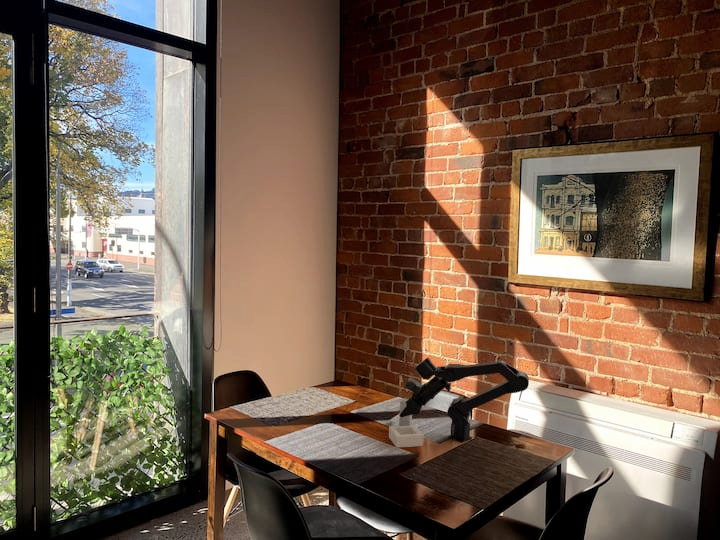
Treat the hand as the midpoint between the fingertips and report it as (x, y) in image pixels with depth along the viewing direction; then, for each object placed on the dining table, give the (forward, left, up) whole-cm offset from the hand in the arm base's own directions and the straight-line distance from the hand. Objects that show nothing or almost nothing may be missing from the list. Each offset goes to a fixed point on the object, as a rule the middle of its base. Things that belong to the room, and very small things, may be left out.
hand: (402, 413), depth 225 cm
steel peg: (-1, -1, -7) cm, 7 cm away
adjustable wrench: (+12, -11, -7) cm, 18 cm away
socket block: (-9, +7, -7) cm, 13 cm away
